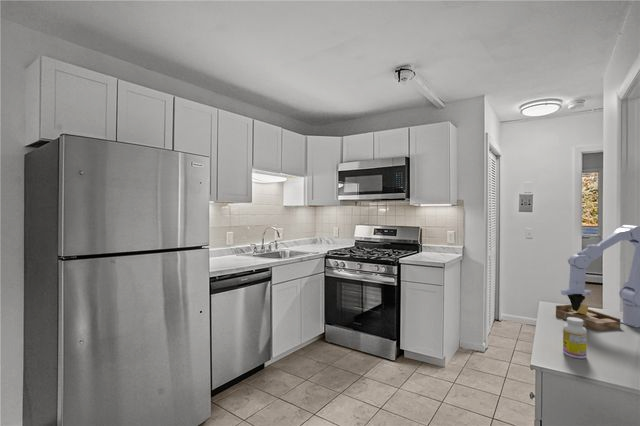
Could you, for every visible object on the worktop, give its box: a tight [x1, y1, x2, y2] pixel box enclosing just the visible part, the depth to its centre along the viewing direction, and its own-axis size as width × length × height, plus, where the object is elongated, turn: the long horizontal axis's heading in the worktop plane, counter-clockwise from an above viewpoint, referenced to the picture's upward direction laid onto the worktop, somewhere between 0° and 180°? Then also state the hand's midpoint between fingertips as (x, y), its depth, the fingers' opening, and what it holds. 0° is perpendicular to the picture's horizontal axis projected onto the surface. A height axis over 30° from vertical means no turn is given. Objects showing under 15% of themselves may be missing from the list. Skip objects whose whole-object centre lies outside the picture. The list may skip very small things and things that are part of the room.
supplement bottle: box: [562, 317, 588, 360], centre depth 117 cm, size 7×7×13 cm
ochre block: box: [571, 303, 589, 315], centre depth 153 cm, size 4×4×4 cm
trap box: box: [555, 304, 621, 331], centre depth 151 cm, size 13×19×5 cm
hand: (575, 310), depth 153 cm, fingers closed, pressing on ochre block
